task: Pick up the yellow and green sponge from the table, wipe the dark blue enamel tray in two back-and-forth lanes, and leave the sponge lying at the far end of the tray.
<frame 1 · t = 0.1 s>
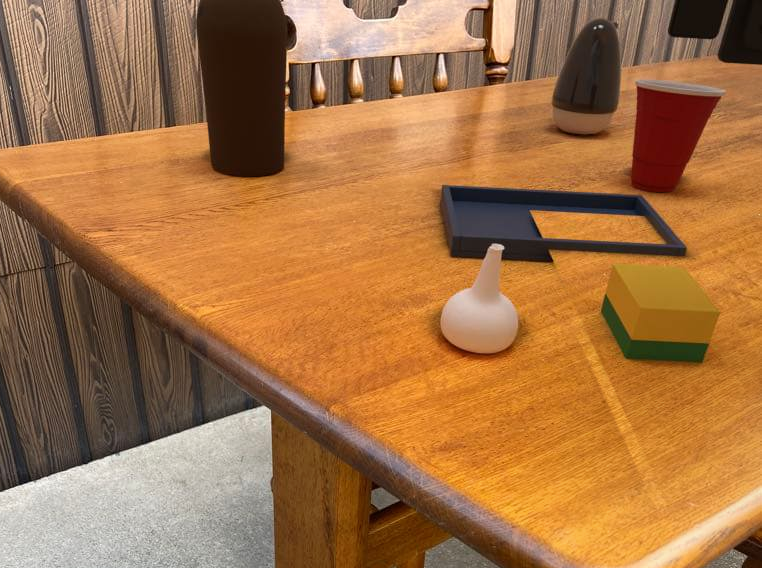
hand: (716, 49, 47), 22 cm above the table, tool pointing down, fingers open, 9 cm apart
garlic bulb: (476, 343, 65), on the table
grey rounded egg shape: (578, 132, 125), on the table
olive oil: (248, 168, 101), on the table
plastic cup: (652, 187, 103), on the table
tray: (551, 233, 86), on the table
sponge: (644, 349, 65), on the table
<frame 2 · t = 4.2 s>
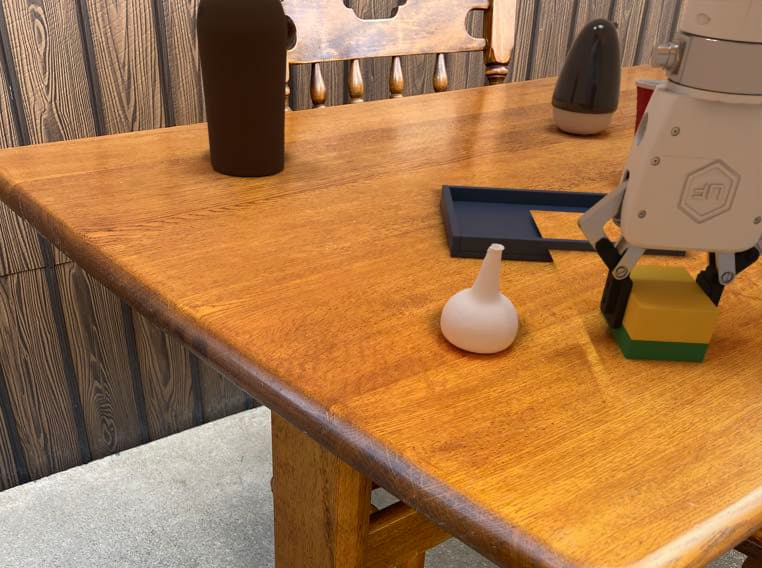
hand: (652, 322, 63), 2 cm above the table, tool pointing down, fingers closed on sponge, 6 cm apart
sponge: (644, 349, 65), on the table, touching gripper
everything else where it was.
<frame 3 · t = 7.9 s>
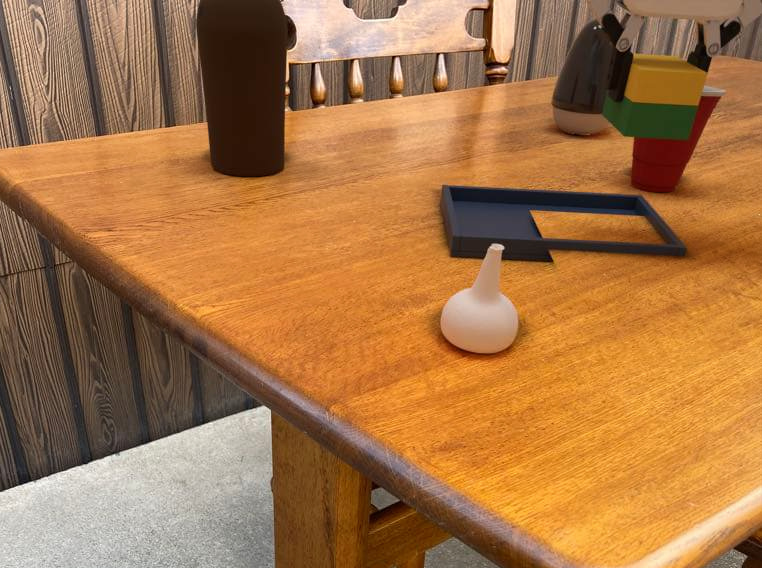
hand: (650, 99, 74), 14 cm above the table, tool pointing down, fingers closed on sponge, 6 cm apart
sponge: (643, 127, 75), point 12 cm above the table, touching gripper
everything else where it was.
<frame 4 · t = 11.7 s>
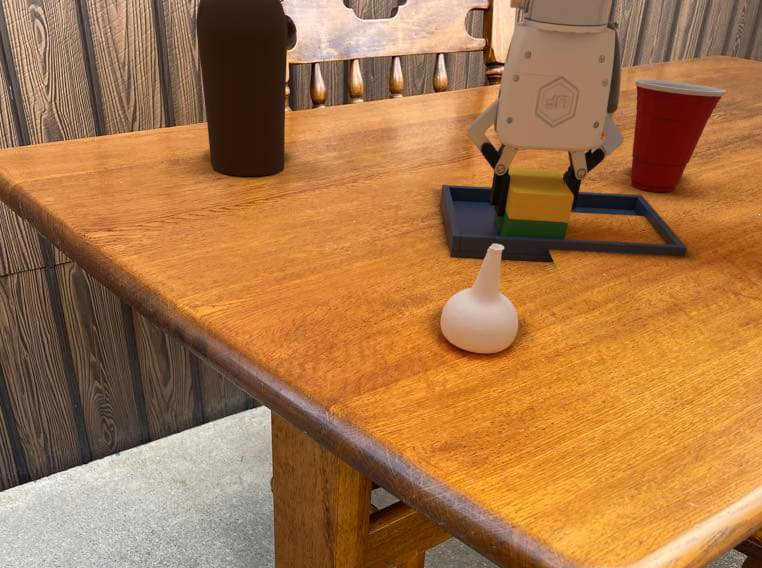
hand: (530, 212, 82), 3 cm above the table, tool pointing down, fingers closed on sponge, 6 cm apart
sponge: (526, 234, 83), point 1 cm above the table, touching gripper
everything else where it was.
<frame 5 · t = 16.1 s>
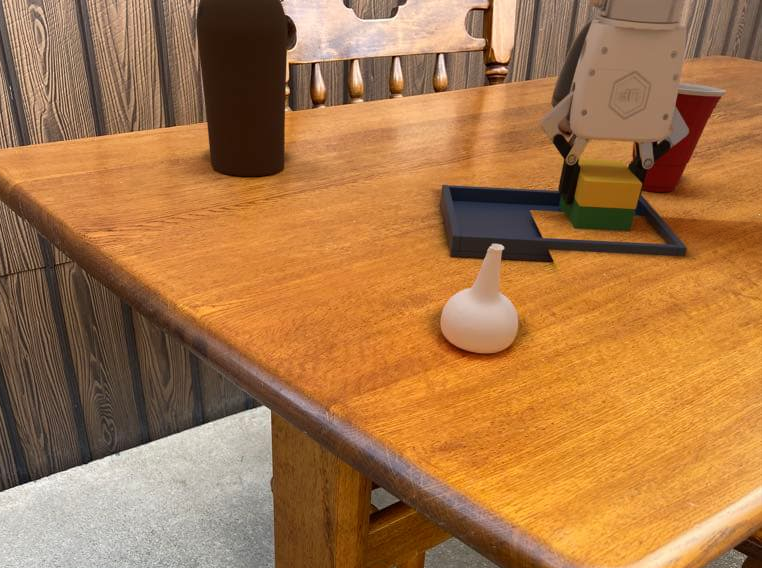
hand: (597, 200, 86), 3 cm above the table, tool pointing down, fingers closed on sponge, 6 cm apart
sponge: (592, 221, 88), point 1 cm above the table, touching gripper
everything else where it was.
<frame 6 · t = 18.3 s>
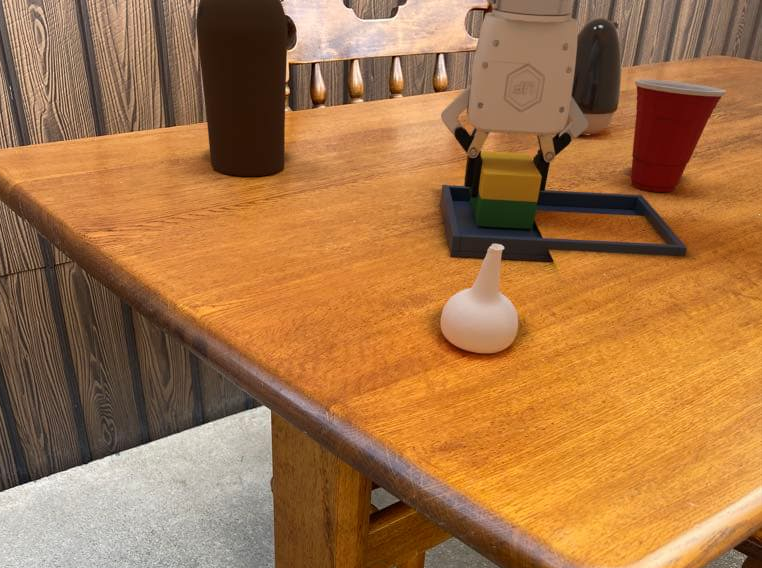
hand: (503, 194, 87), 3 cm above the table, tool pointing down, fingers closed on sponge, 6 cm apart
sponge: (499, 214, 88), point 1 cm above the table, touching gripper
everything else where it was.
when the fingers open (3 cm above the table, at t = 19.7 s): sponge stays where it is, resting on tray.
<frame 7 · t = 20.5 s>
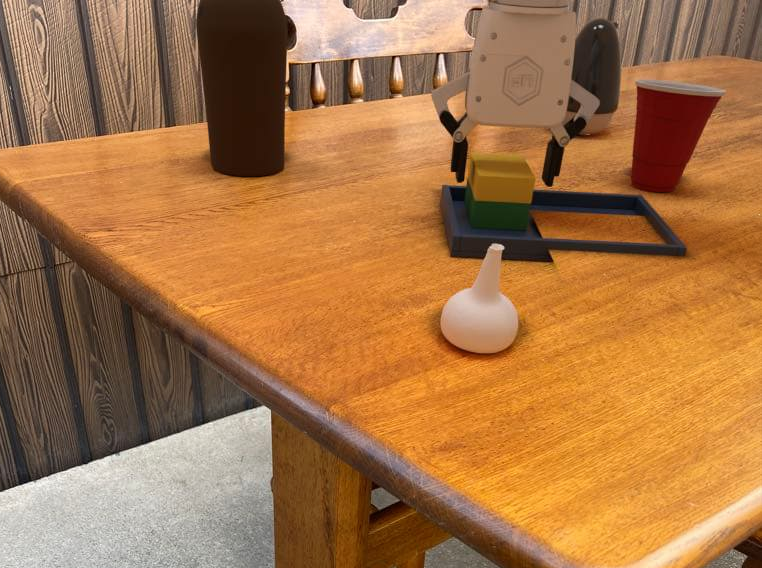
hand: (503, 181, 86), 4 cm above the table, tool pointing down, fingers open, 9 cm apart
sponge: (494, 216, 88), point 1 cm above the table, touching tray
everything else where it was.
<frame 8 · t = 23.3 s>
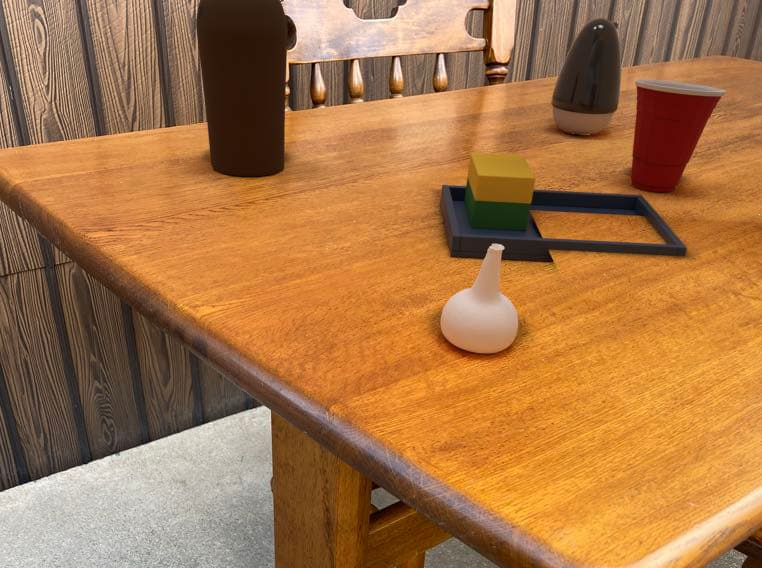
nothing on the table moved.
at the end: sponge inside the target area in the tray (0.6 cm from its centre), point 0.6 cm above the tray's base; sponge moved 32.3 cm from its start; the gripper is holding nothing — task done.
